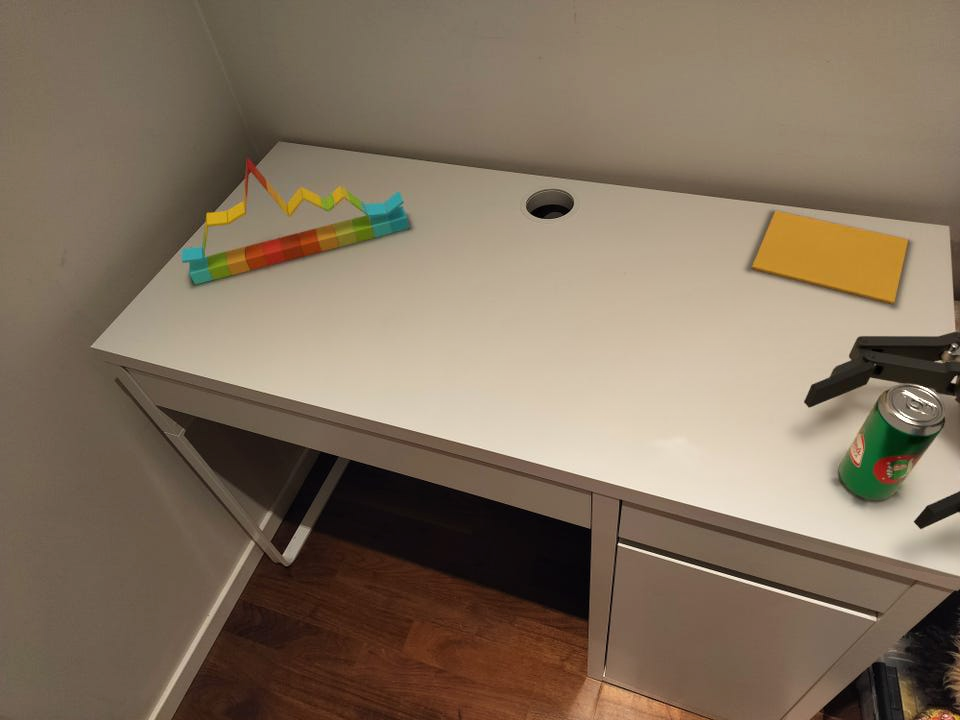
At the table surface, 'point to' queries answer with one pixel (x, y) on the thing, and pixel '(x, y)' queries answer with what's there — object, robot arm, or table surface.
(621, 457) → the table surface
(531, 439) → the table surface
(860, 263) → the orange flat board
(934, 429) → the soda can
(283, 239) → the chart
